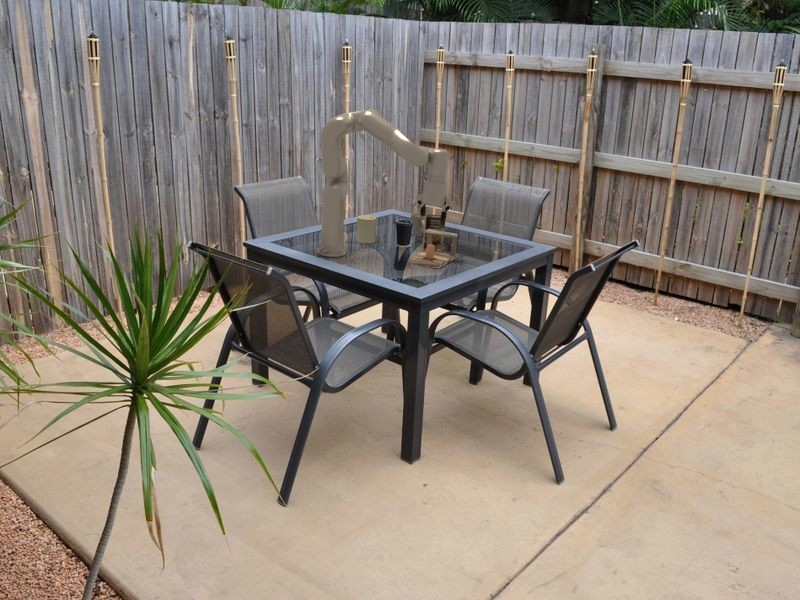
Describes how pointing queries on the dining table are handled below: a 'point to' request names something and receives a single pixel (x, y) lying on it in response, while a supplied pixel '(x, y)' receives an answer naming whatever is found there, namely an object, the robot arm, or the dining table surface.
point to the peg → (430, 252)
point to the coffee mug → (417, 223)
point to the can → (366, 229)
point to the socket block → (438, 257)
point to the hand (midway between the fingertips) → (432, 218)
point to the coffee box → (435, 224)
